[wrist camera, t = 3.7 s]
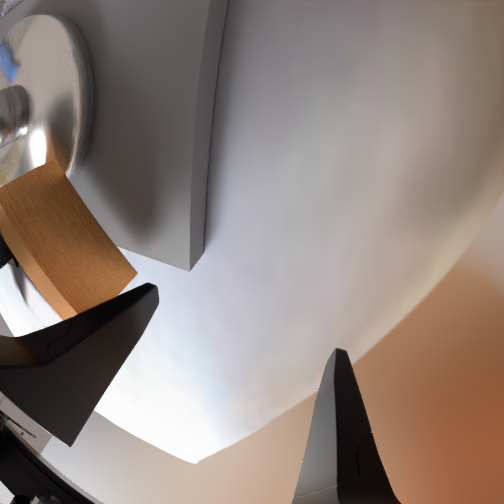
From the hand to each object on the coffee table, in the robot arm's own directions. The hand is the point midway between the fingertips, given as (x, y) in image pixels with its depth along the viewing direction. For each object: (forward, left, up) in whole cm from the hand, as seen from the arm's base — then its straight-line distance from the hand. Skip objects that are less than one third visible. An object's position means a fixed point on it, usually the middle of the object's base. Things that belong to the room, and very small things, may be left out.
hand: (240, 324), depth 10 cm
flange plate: (-12, +5, -2) cm, 13 cm away
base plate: (-13, +7, -4) cm, 15 cm away
